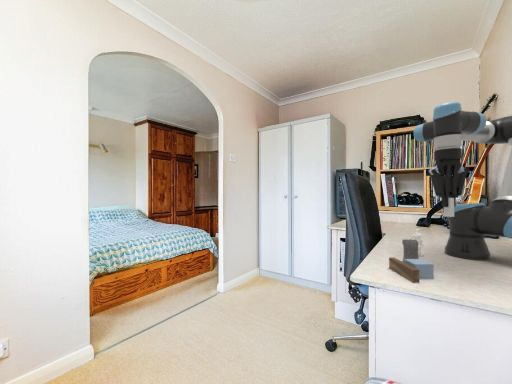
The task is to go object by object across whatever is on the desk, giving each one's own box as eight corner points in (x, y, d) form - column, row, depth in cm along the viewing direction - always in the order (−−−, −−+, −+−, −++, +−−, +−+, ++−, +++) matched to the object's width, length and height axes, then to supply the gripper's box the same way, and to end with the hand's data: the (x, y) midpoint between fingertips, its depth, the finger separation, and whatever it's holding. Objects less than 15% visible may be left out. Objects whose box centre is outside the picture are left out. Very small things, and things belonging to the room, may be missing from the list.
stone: (420, 267, 90) (420, 241, 90) (403, 265, 92) (403, 240, 92) (417, 264, 94) (418, 239, 93) (400, 263, 95) (401, 238, 95)
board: (394, 267, 90) (394, 257, 90) (419, 282, 76) (419, 270, 76) (389, 268, 90) (389, 257, 90) (413, 282, 76) (413, 270, 76)
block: (421, 272, 85) (421, 259, 85) (433, 279, 79) (433, 264, 79) (404, 272, 85) (404, 259, 85) (415, 279, 79) (415, 264, 79)
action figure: (425, 255, 105) (424, 229, 105) (421, 257, 103) (421, 229, 103) (409, 252, 110) (408, 227, 110) (405, 254, 108) (405, 228, 108)
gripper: (456, 150, 86) (458, 214, 87) (421, 151, 86) (422, 215, 87) (476, 146, 79) (477, 216, 79) (437, 147, 79) (438, 218, 79)
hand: (449, 216), depth 83 cm, fingers closed
